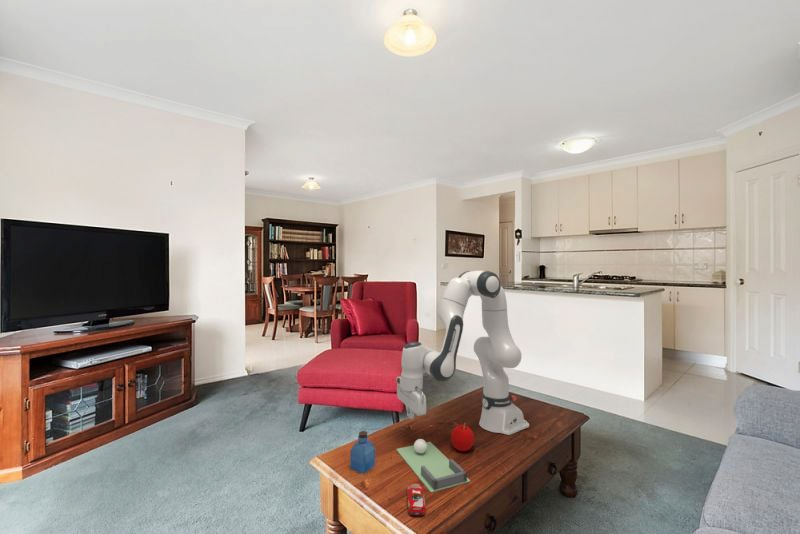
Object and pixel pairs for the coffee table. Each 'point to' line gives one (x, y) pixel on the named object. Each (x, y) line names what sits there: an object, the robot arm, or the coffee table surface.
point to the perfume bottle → (362, 454)
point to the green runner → (428, 463)
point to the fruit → (462, 438)
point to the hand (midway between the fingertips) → (410, 417)
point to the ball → (420, 446)
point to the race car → (416, 499)
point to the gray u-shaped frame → (446, 480)
